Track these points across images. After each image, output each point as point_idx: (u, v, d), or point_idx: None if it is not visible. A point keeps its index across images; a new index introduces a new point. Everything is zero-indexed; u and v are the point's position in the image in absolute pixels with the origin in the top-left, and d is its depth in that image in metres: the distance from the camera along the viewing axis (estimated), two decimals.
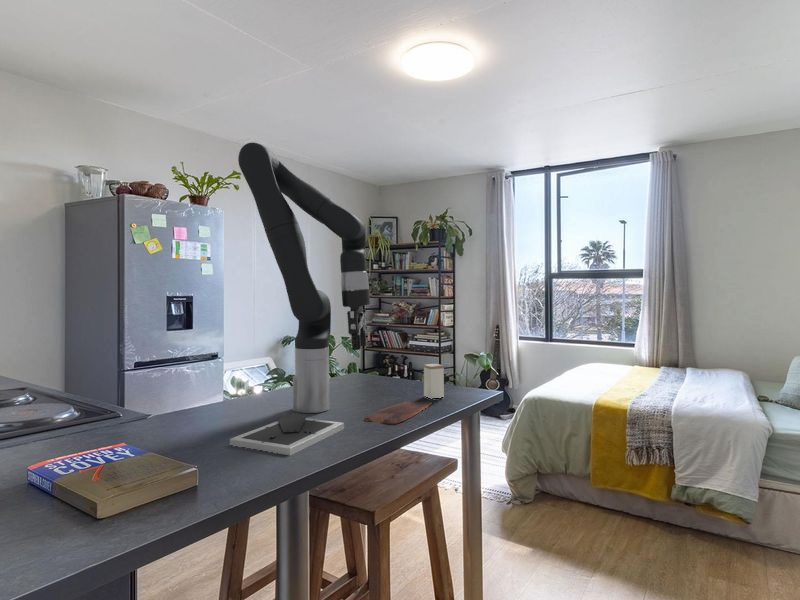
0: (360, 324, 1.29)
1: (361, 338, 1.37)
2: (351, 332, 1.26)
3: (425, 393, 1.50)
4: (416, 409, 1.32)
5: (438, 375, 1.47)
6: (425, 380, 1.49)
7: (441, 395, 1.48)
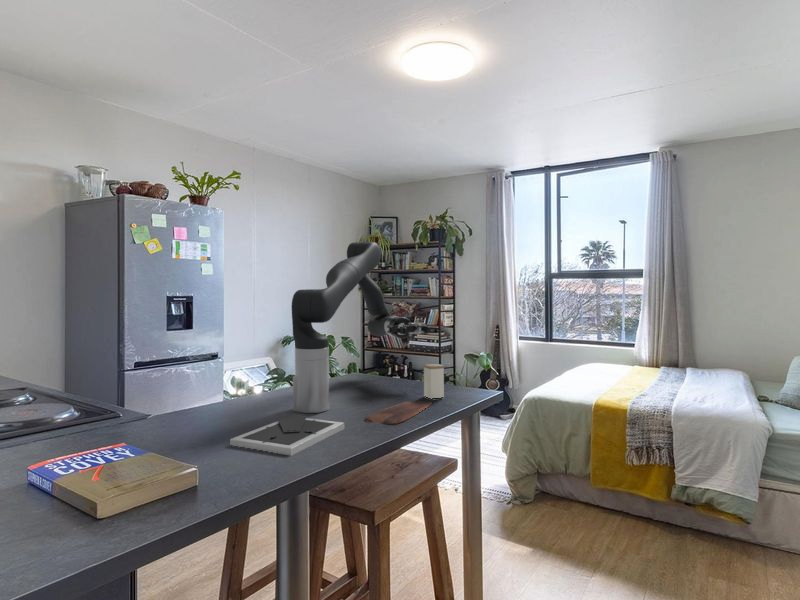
0: None
1: None
2: (429, 327, 1.66)
3: (425, 393, 1.50)
4: (416, 409, 1.32)
5: (438, 375, 1.47)
6: (425, 380, 1.49)
7: (441, 395, 1.48)
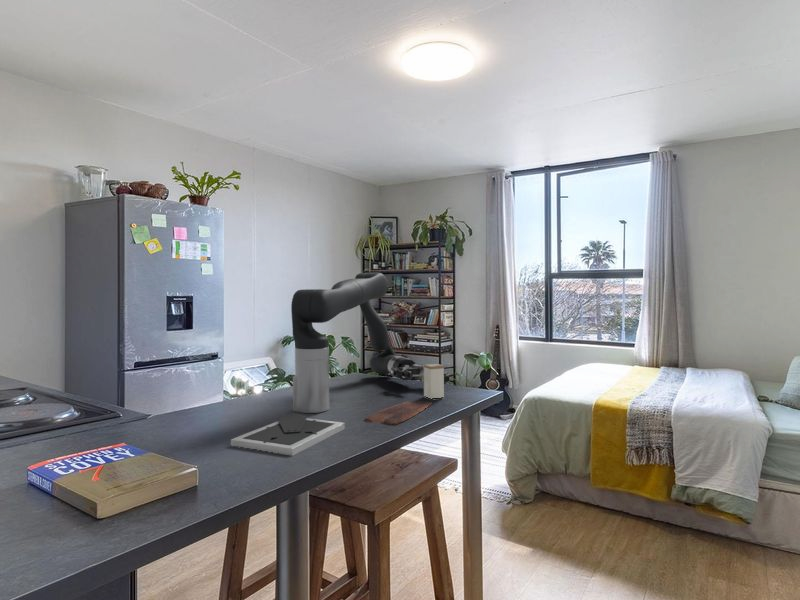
0: None
1: None
2: None
3: (425, 393, 1.50)
4: (416, 409, 1.32)
5: (438, 375, 1.47)
6: (425, 380, 1.49)
7: (441, 395, 1.48)
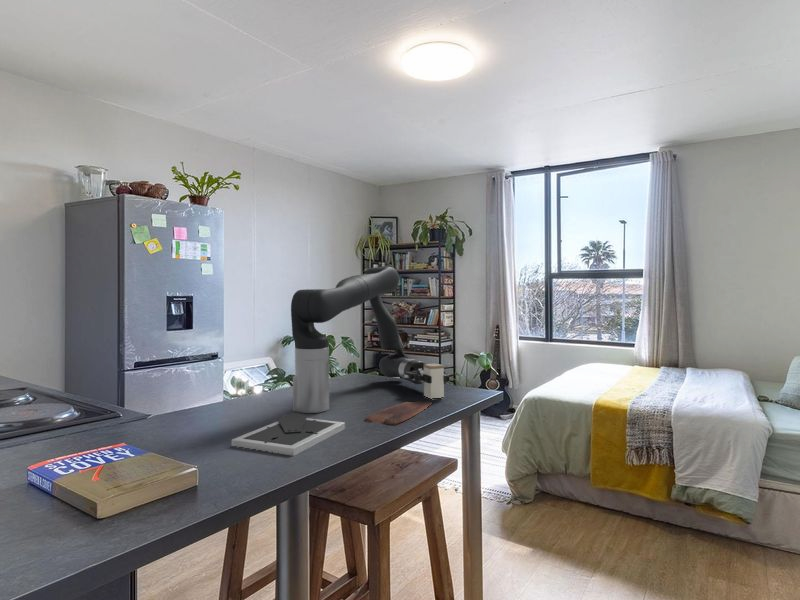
0: None
1: None
2: (445, 374, 1.53)
3: (424, 393, 1.50)
4: (416, 409, 1.32)
5: (438, 375, 1.47)
6: None
7: (441, 395, 1.48)
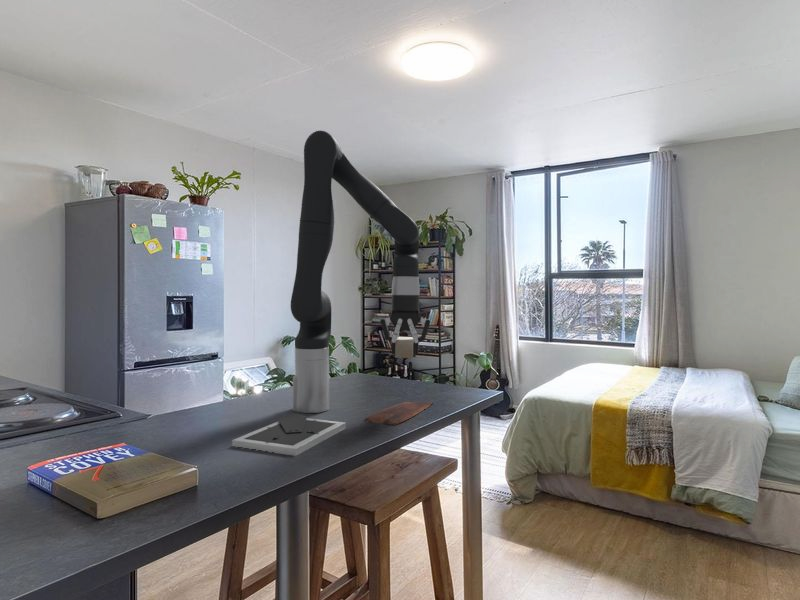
0: None
1: None
2: (424, 339, 1.31)
3: None
4: (416, 409, 1.31)
5: None
6: None
7: None
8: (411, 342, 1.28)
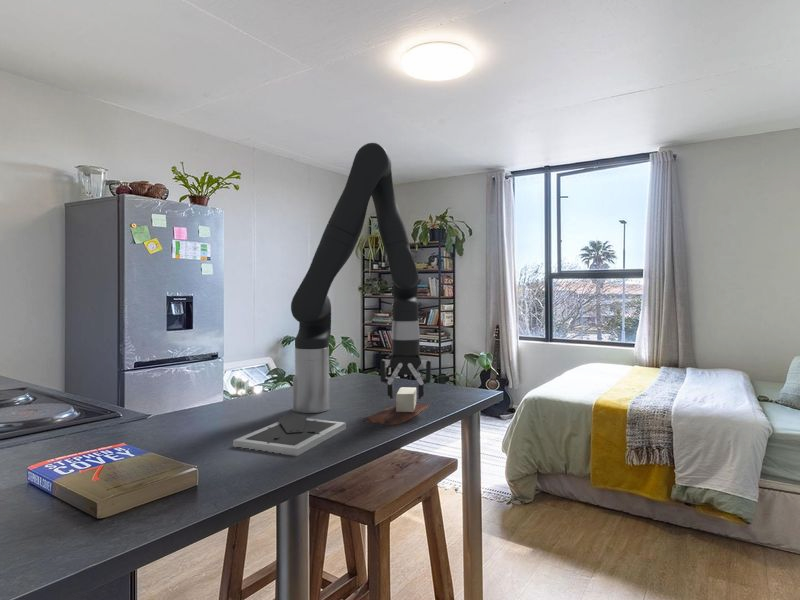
0: None
1: (392, 389, 1.32)
2: (429, 381, 1.31)
3: None
4: (416, 410, 1.31)
5: None
6: None
7: None
8: (411, 396, 1.28)
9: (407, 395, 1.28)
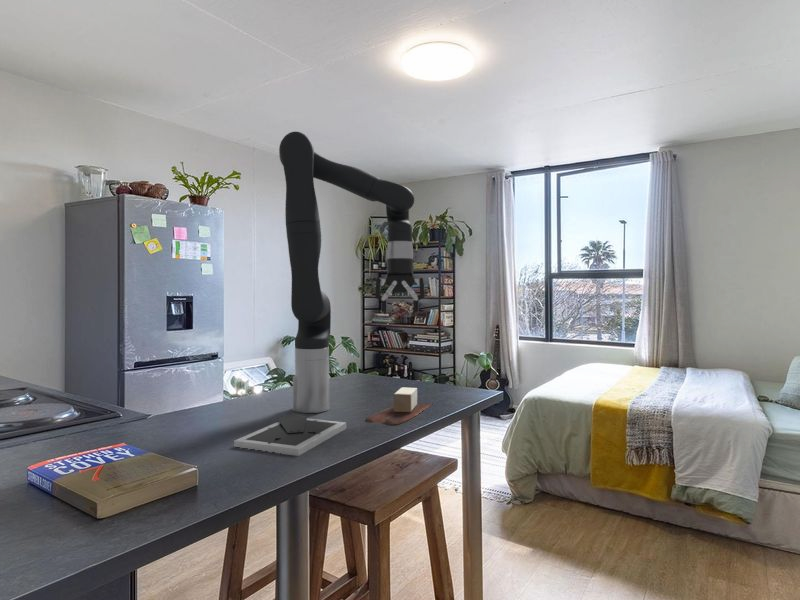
0: (413, 291, 1.42)
1: (386, 306, 1.41)
2: (424, 297, 1.40)
3: None
4: (417, 410, 1.31)
5: None
6: None
7: None
8: (409, 396, 1.28)
9: (405, 395, 1.28)
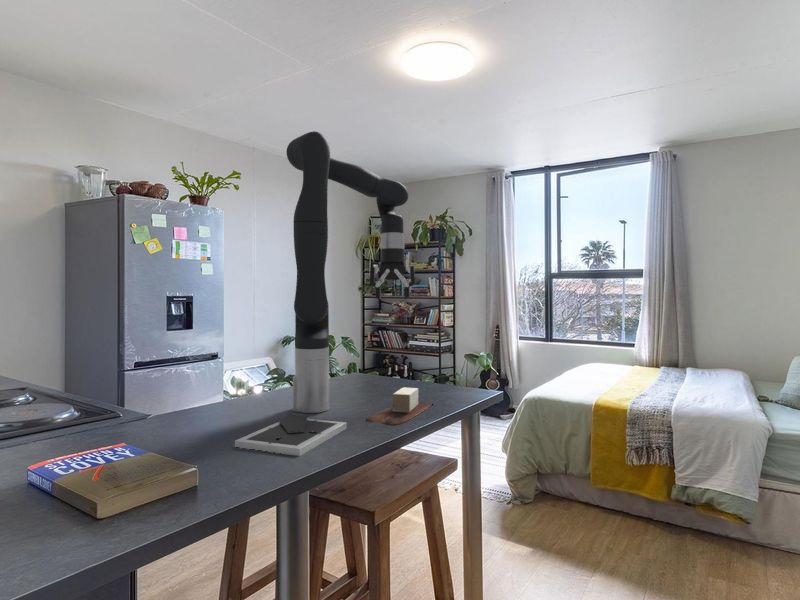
0: None
1: (380, 292, 1.54)
2: (414, 283, 1.53)
3: None
4: (417, 410, 1.31)
5: None
6: None
7: None
8: (407, 396, 1.27)
9: (403, 395, 1.28)
